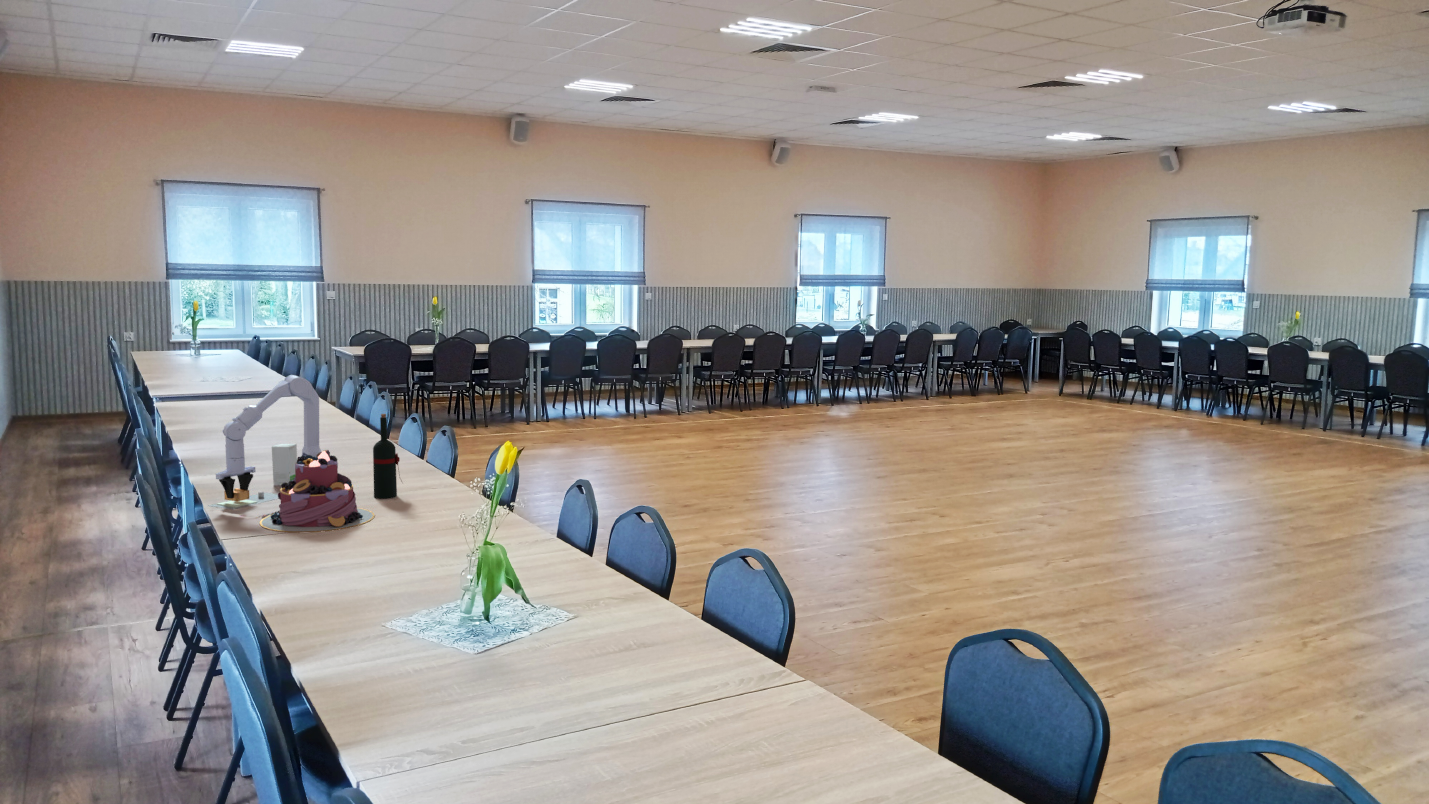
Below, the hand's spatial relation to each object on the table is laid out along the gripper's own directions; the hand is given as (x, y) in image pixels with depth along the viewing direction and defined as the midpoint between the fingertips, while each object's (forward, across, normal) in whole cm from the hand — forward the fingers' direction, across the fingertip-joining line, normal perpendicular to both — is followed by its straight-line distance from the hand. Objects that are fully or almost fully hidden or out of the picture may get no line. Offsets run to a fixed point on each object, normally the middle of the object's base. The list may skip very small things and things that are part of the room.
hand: (237, 496), depth 350 cm
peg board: (+3, -5, 0) cm, 6 cm away
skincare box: (+4, -32, -12) cm, 34 cm away
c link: (+1, 0, 0) cm, 1 cm away
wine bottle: (+4, -36, +34) cm, 50 cm away
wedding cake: (+4, +1, +37) cm, 38 cm away
